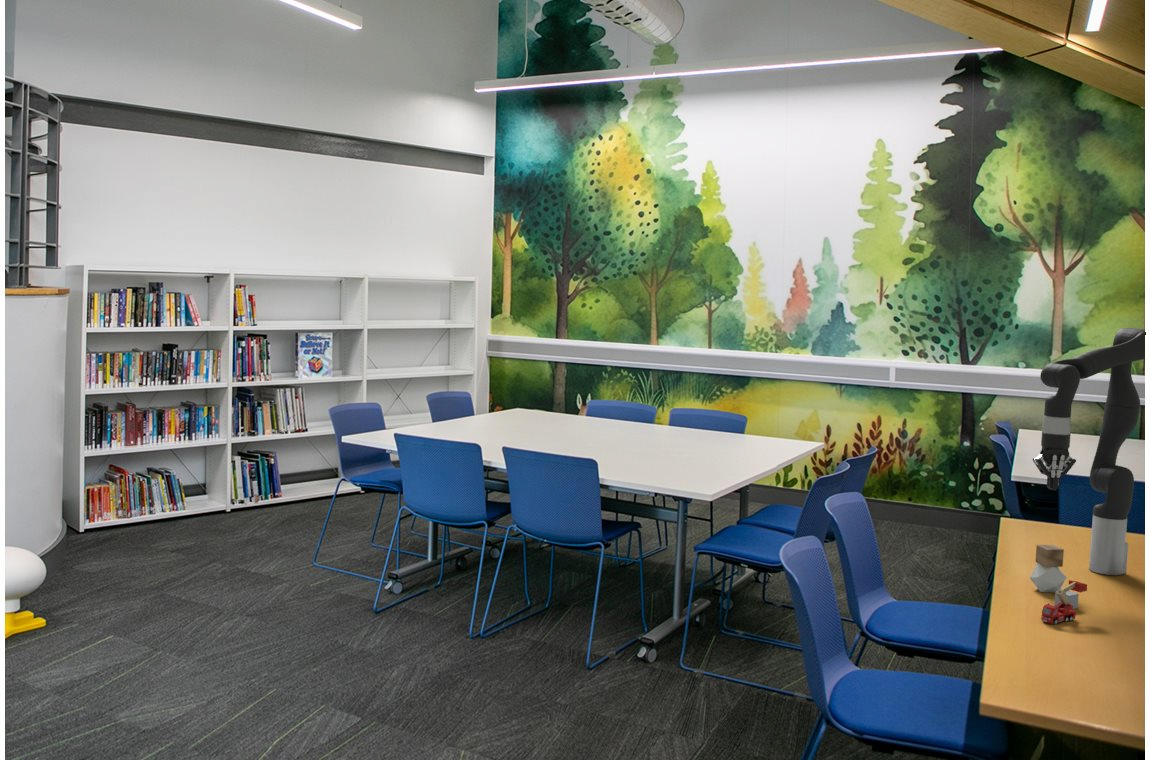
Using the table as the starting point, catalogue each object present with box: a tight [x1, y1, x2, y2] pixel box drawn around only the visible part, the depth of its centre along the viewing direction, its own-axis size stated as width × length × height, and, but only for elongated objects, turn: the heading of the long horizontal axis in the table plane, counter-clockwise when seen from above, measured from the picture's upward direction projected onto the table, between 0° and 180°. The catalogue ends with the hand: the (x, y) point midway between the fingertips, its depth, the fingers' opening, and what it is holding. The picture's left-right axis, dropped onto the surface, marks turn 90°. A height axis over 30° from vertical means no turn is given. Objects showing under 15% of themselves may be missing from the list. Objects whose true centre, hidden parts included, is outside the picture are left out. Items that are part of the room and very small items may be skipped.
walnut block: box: [1035, 544, 1065, 568], centre depth 269 cm, size 5×5×5 cm
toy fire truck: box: [1040, 579, 1088, 625], centre depth 244 cm, size 3×14×10 cm, turn 118°
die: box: [1029, 562, 1068, 593], centre depth 269 cm, size 8×9×10 cm
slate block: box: [1054, 590, 1079, 610], centre depth 255 cm, size 4×4×4 cm
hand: (1052, 489), depth 279 cm, fingers closed
